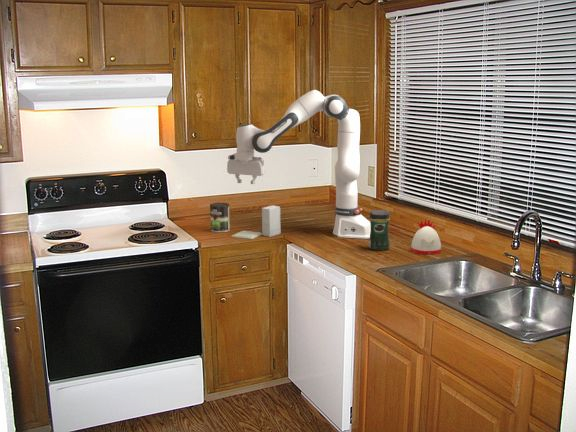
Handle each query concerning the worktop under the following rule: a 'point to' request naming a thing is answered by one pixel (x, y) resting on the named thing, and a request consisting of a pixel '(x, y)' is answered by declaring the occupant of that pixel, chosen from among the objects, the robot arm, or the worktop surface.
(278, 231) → the skincare box
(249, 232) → the plate
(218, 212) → the coffee can
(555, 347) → the worktop surface
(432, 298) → the worktop surface
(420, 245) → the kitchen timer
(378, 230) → the coffee jar
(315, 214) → the worktop surface
